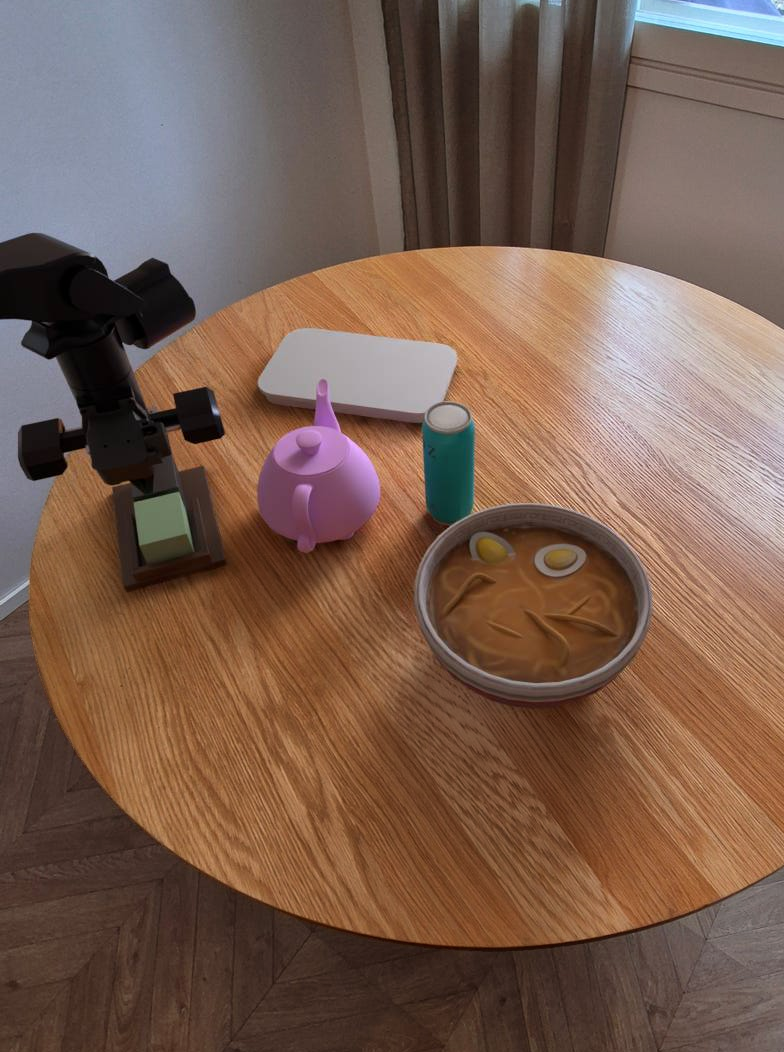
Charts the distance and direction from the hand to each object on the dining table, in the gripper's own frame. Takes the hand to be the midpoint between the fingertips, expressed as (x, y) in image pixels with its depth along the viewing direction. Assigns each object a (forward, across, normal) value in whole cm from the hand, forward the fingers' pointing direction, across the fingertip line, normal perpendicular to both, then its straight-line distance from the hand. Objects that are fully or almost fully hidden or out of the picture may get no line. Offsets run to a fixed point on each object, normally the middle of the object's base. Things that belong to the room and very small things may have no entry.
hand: (148, 491), depth 85 cm
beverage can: (+9, +32, -6) cm, 34 cm away
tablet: (+9, +29, +23) cm, 38 cm away
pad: (+8, 0, 0) cm, 8 cm away
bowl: (+9, +33, -27) cm, 44 cm away
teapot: (+9, +18, 0) cm, 20 cm away
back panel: (+9, 0, +3) cm, 10 cm away
